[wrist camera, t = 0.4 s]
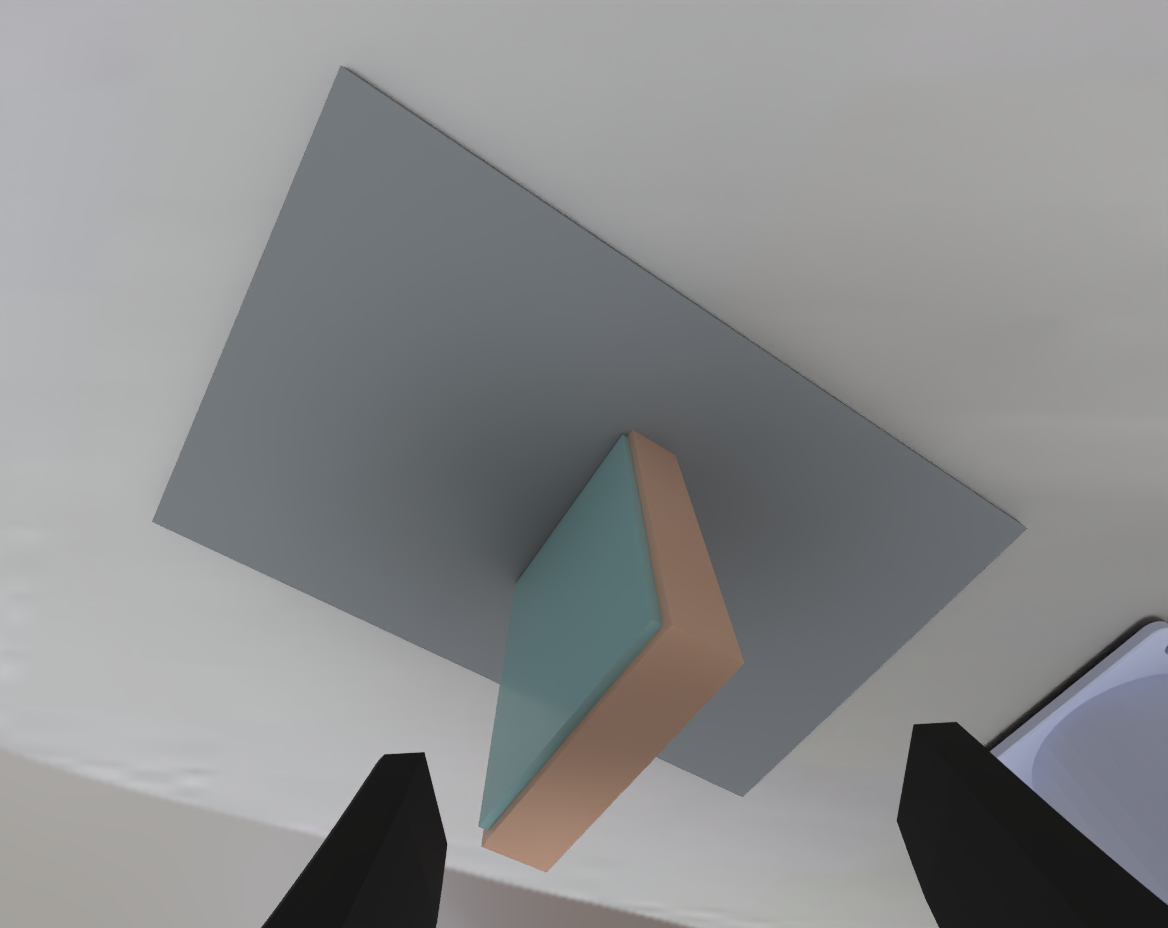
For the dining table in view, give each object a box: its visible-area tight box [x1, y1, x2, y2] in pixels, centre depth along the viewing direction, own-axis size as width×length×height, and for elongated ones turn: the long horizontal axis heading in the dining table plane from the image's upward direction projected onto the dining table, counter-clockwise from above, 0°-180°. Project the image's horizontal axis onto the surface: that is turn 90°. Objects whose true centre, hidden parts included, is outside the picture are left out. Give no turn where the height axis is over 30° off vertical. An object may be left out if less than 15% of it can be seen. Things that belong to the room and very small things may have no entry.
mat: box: [152, 66, 1027, 797], centre depth 19 cm, size 21×13×1 cm, turn 57°
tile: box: [479, 429, 744, 872], centre depth 15 cm, size 2×6×8 cm, turn 148°
